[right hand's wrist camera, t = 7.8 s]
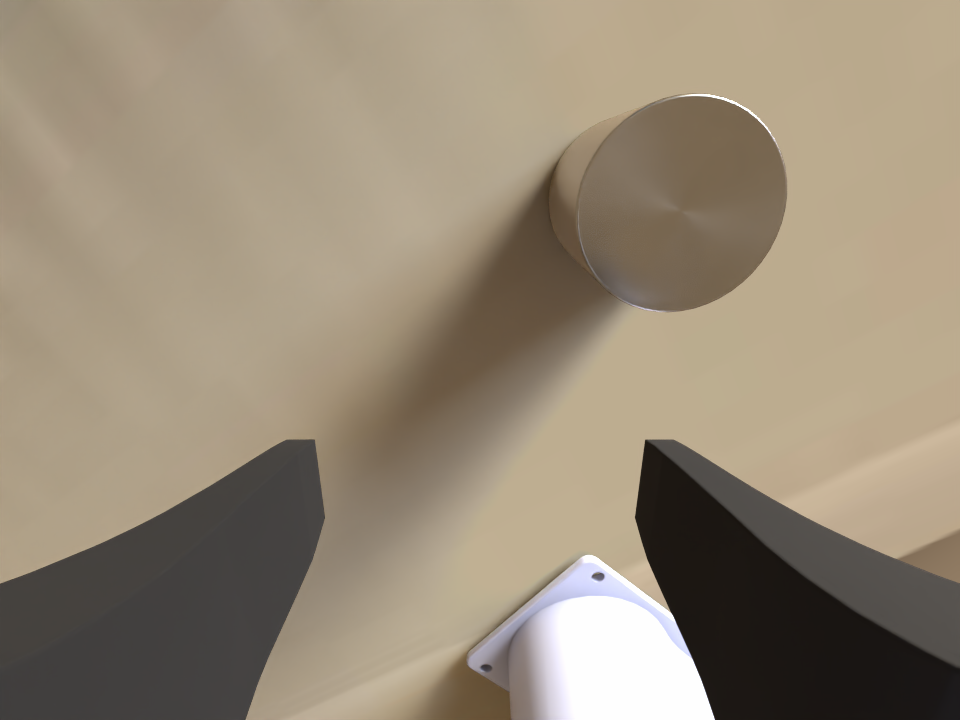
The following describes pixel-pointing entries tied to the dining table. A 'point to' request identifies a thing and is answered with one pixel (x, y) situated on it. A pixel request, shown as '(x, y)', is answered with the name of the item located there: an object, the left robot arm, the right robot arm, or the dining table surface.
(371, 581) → the dining table surface
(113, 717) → the right robot arm
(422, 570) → the dining table surface
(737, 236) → the canister
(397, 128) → the dining table surface
